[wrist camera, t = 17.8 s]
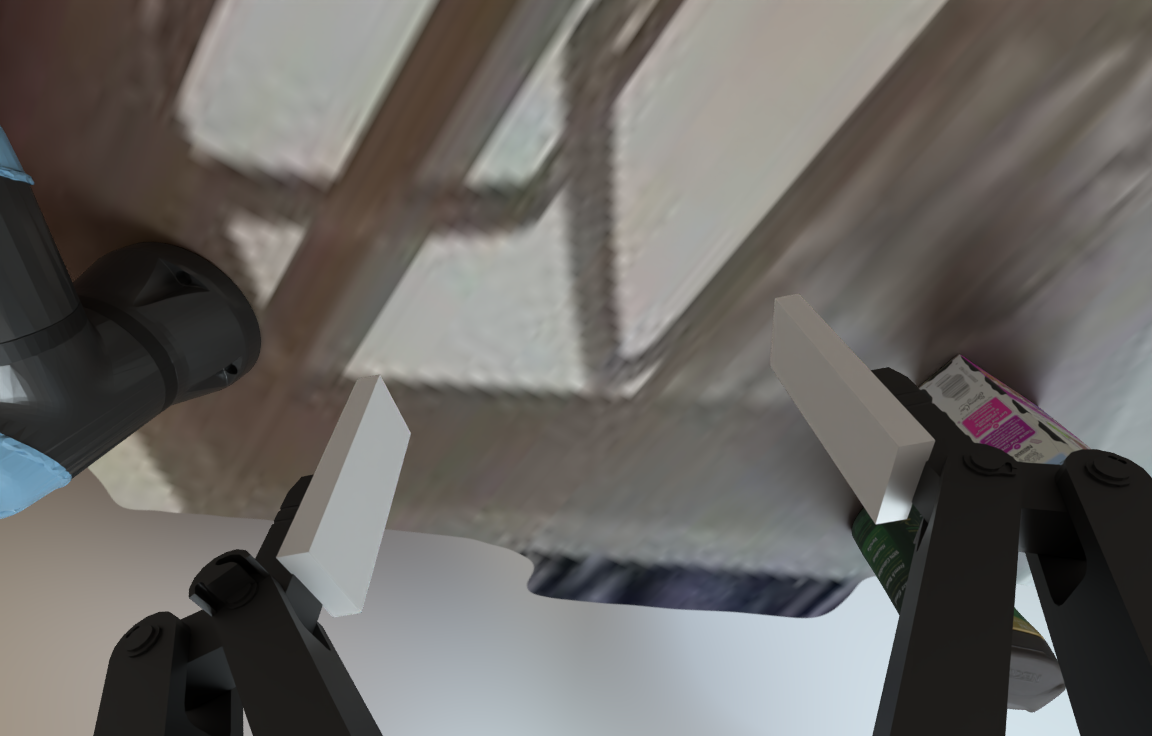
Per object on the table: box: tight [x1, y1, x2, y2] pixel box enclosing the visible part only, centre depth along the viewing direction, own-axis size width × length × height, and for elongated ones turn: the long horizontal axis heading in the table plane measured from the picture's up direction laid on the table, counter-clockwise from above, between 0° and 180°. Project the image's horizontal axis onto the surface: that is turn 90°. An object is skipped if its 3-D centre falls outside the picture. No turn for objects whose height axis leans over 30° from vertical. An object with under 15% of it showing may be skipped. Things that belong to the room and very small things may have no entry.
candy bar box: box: [919, 354, 1091, 465], centre depth 40 cm, size 11×5×16 cm, turn 60°
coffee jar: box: [852, 504, 1066, 712], centre depth 48 cm, size 10×8×19 cm
